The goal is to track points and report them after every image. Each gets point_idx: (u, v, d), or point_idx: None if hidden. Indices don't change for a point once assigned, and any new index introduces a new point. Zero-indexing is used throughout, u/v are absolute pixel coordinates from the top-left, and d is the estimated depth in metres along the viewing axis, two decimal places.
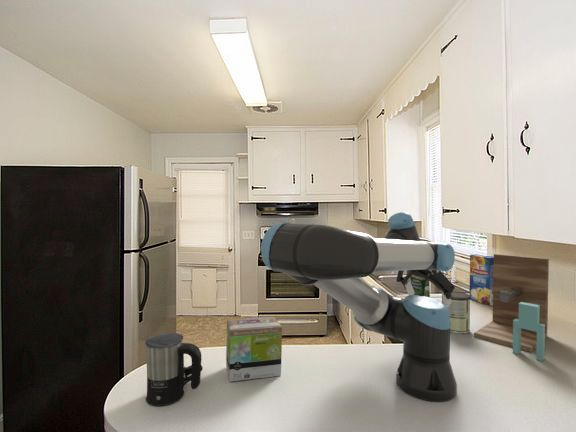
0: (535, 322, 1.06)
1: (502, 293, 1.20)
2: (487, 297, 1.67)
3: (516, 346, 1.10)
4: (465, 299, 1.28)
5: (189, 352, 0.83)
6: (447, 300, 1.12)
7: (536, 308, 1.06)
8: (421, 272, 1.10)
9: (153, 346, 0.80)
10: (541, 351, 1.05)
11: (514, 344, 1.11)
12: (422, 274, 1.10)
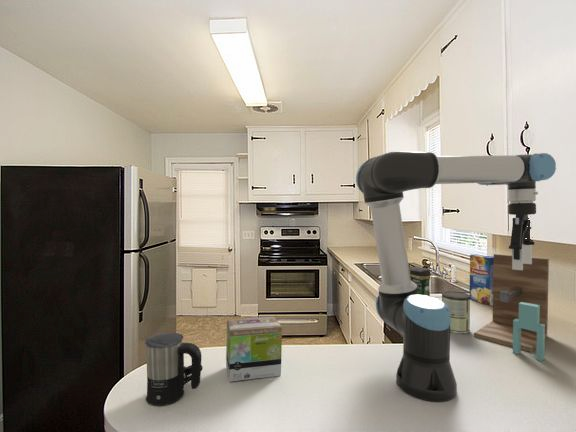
0: (535, 322, 1.06)
1: (502, 293, 1.20)
2: (487, 297, 1.67)
3: (516, 346, 1.10)
4: (465, 299, 1.28)
5: (189, 352, 0.83)
6: (514, 261, 1.05)
7: (536, 308, 1.06)
8: None
9: (153, 346, 0.80)
10: (541, 351, 1.05)
11: (514, 344, 1.11)
12: None
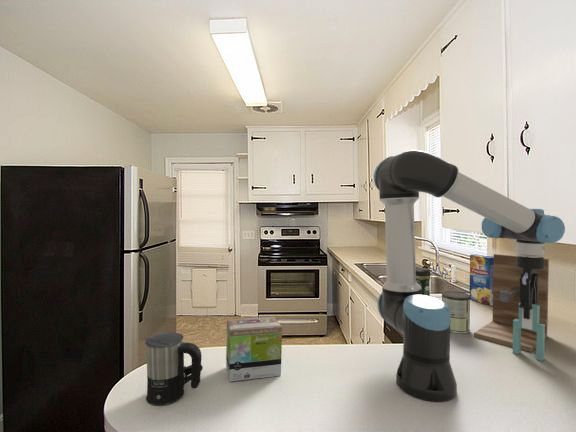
0: (535, 322, 1.06)
1: (502, 293, 1.20)
2: (487, 297, 1.67)
3: (516, 346, 1.10)
4: (465, 299, 1.28)
5: (189, 351, 0.83)
6: (524, 320, 1.08)
7: (536, 308, 1.06)
8: (522, 276, 1.08)
9: (154, 345, 0.81)
10: (541, 351, 1.05)
11: (514, 344, 1.11)
12: (521, 277, 1.09)
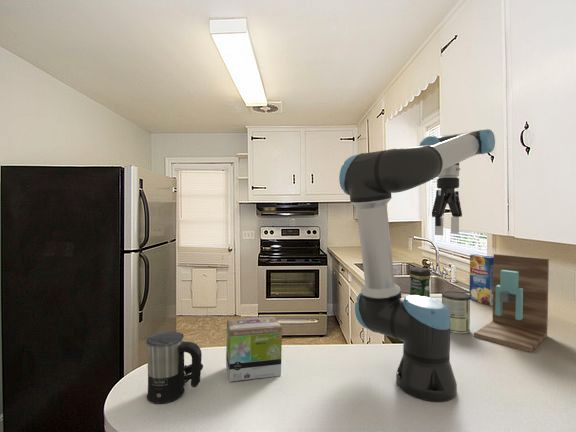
0: (514, 286, 1.21)
1: (502, 293, 1.20)
2: (487, 297, 1.67)
3: (498, 308, 1.25)
4: (465, 299, 1.28)
5: (189, 350, 0.84)
6: (436, 228, 1.20)
7: (515, 274, 1.20)
8: None
9: (154, 344, 0.81)
10: (519, 311, 1.20)
11: (496, 307, 1.25)
12: None
